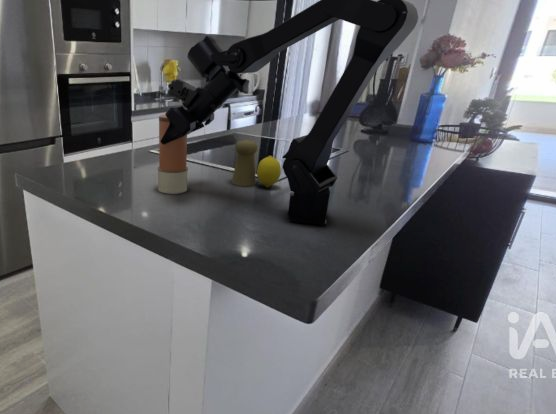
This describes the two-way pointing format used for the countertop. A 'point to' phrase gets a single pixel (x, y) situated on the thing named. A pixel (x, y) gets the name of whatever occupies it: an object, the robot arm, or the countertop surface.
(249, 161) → the cork
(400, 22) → the robot arm
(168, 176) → the short cream cylinder
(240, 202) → the countertop surface
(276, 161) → the lemon
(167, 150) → the terracotta tall cylinder
